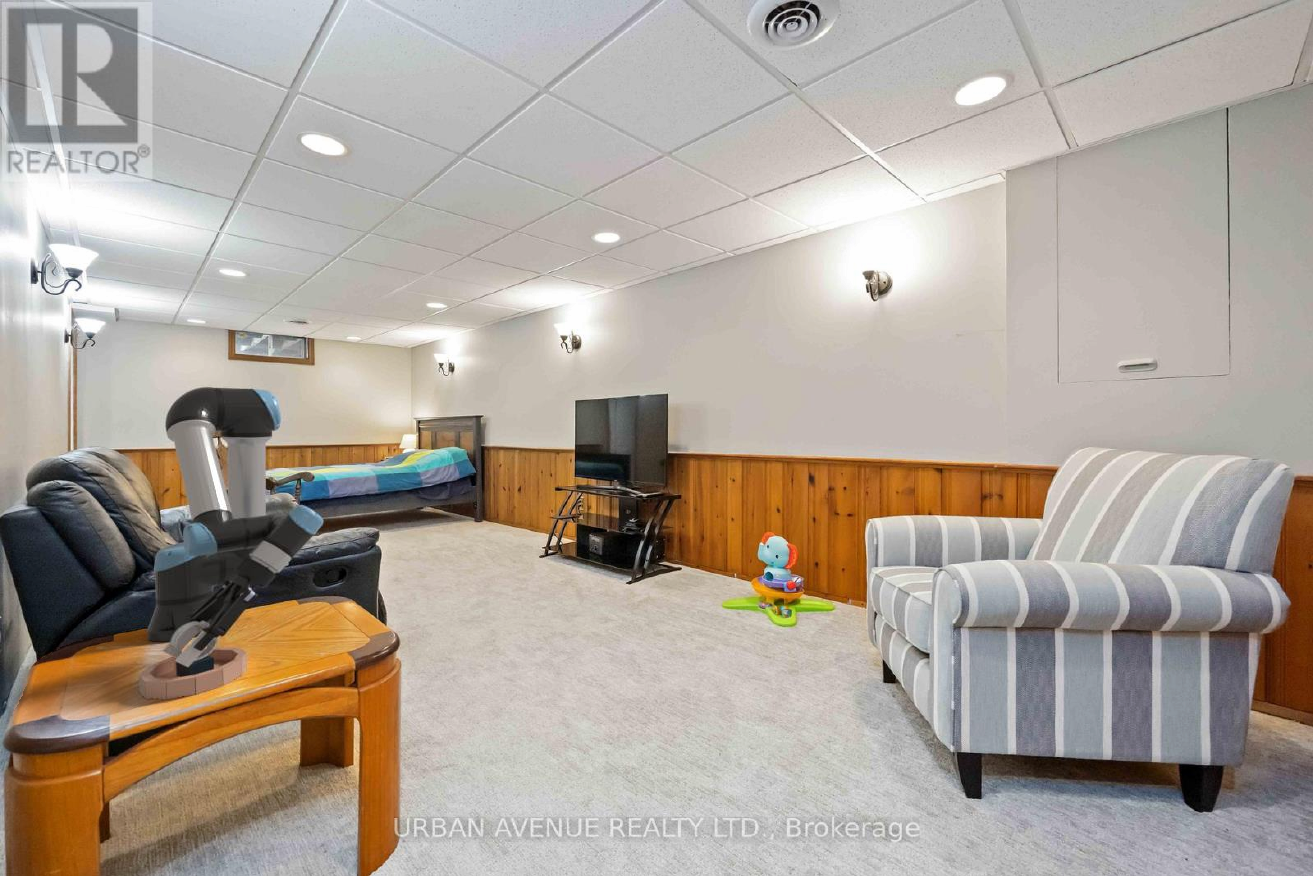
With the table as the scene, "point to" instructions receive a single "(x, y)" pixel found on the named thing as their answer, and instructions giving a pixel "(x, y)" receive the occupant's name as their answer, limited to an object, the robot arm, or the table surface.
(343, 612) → the table surface
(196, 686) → the dish
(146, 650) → the table surface
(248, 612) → the table surface
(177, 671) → the watch
